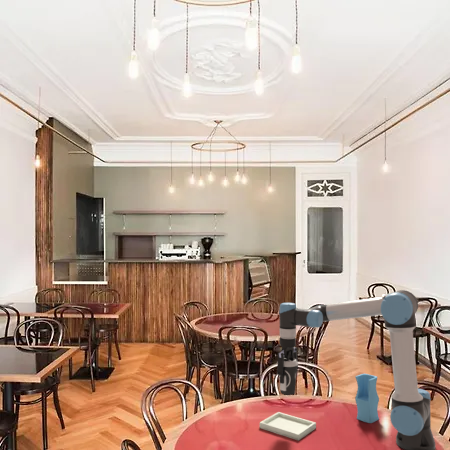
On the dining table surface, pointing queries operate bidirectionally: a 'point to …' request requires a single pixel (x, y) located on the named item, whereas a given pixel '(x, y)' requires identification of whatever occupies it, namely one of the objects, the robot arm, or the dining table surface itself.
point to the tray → (288, 425)
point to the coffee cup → (290, 376)
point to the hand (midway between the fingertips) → (287, 387)
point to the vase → (367, 398)
